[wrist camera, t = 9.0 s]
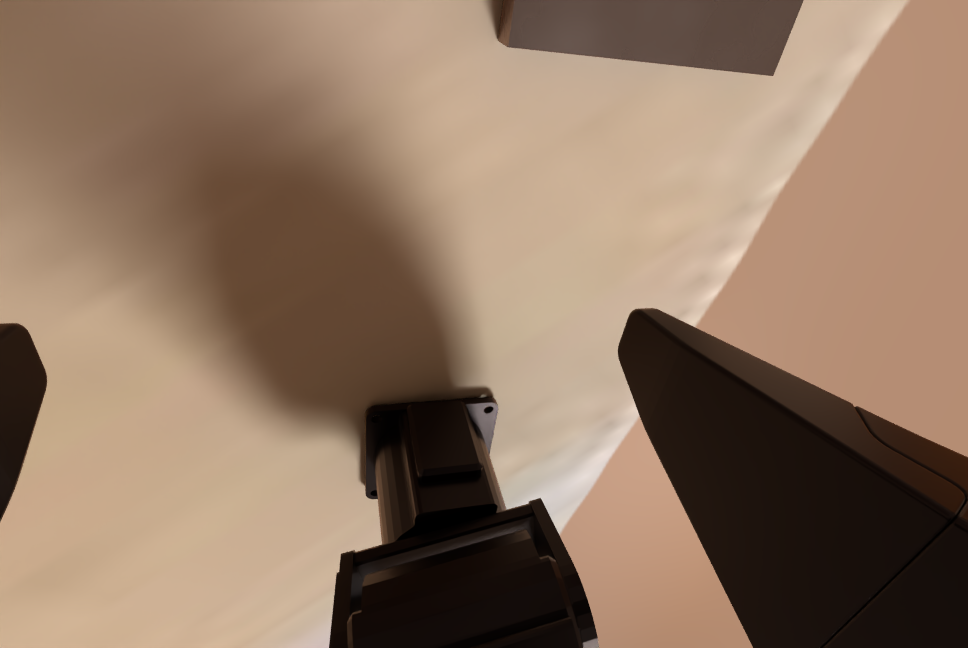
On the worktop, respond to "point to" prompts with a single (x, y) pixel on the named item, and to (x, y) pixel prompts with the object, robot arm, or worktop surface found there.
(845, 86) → the worktop surface
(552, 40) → the shaft stand
